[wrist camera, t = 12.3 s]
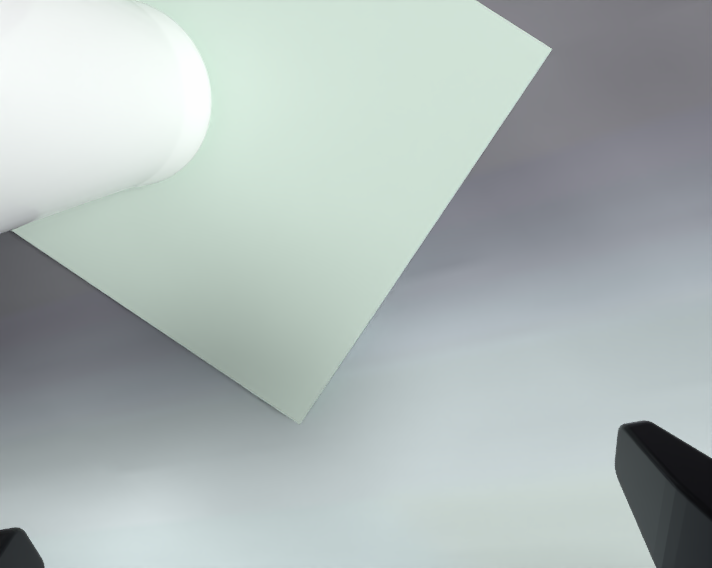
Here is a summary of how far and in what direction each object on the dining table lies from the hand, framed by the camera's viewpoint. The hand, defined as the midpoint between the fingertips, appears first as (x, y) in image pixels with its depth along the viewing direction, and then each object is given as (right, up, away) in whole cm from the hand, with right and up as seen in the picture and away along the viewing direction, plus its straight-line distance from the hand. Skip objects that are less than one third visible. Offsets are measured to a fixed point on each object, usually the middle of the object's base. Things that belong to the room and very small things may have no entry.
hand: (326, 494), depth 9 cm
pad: (-6, +10, +10) cm, 15 cm away
